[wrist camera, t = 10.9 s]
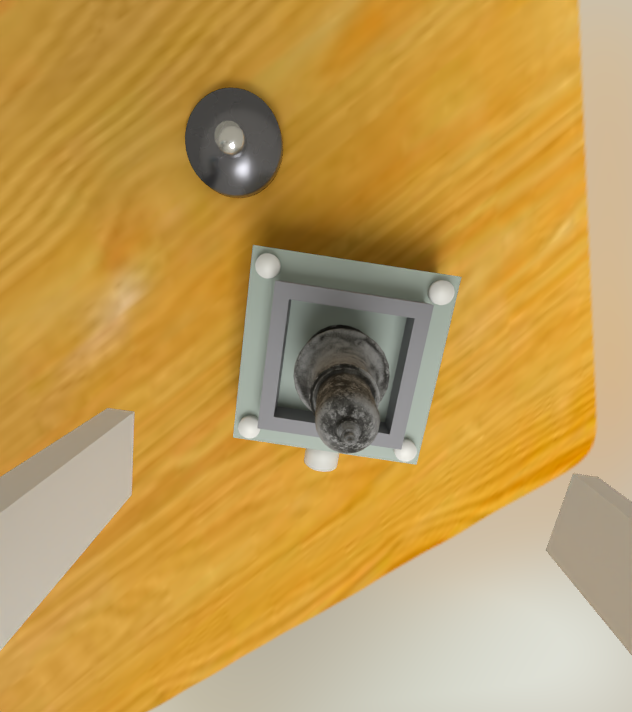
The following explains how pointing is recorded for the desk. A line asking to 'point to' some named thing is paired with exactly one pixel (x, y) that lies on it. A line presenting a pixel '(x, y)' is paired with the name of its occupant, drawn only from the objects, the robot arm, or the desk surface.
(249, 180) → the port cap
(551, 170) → the desk surface
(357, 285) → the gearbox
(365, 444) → the dark metal chess piece
